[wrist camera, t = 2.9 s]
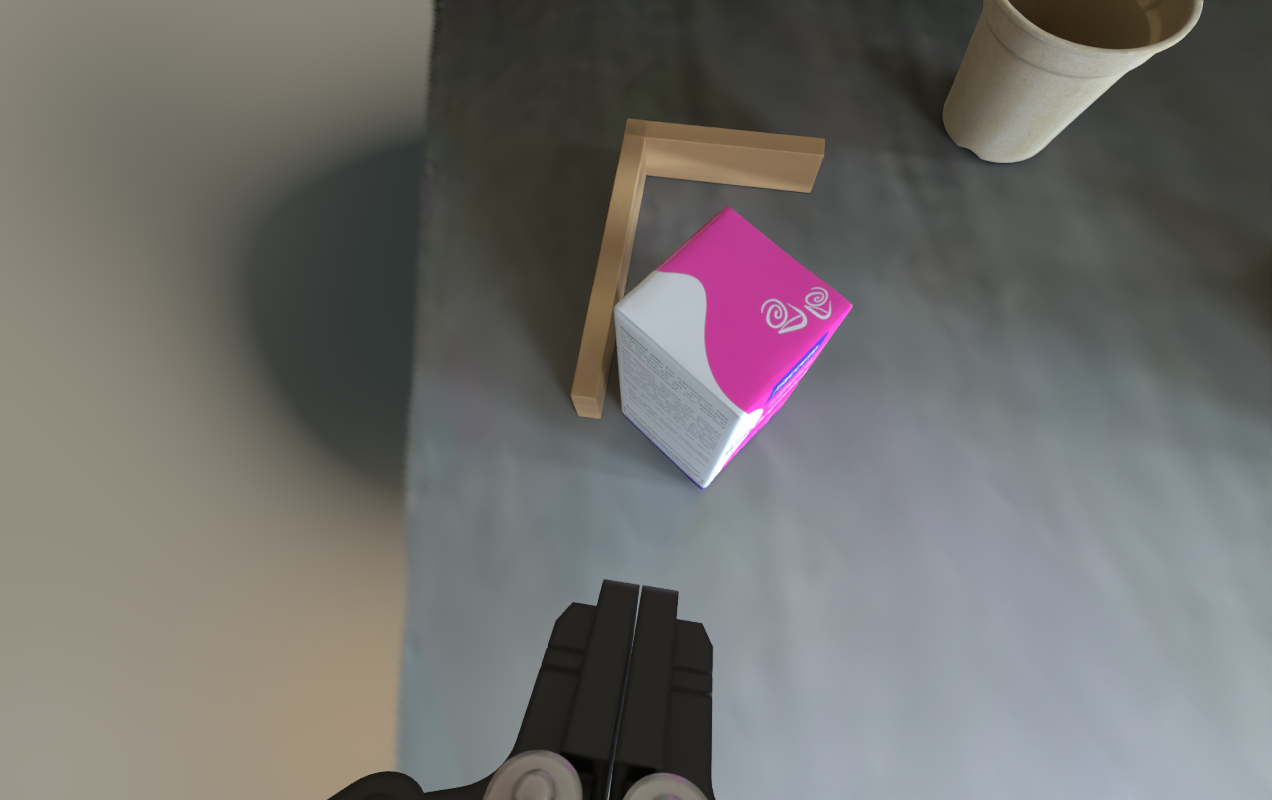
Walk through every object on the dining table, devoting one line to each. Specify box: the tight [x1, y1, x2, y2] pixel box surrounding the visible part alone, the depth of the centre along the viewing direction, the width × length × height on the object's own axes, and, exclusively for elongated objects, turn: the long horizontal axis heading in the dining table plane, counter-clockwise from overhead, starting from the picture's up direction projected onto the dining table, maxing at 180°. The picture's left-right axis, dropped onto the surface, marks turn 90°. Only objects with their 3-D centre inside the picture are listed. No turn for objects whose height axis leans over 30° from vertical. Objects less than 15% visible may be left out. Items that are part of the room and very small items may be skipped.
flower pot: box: [943, 0, 1203, 163], centre depth 31 cm, size 9×9×9 cm
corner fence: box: [570, 119, 825, 419], centre depth 31 cm, size 16×11×3 cm, turn 171°
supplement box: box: [614, 207, 852, 489], centre depth 24 cm, size 6×6×12 cm
